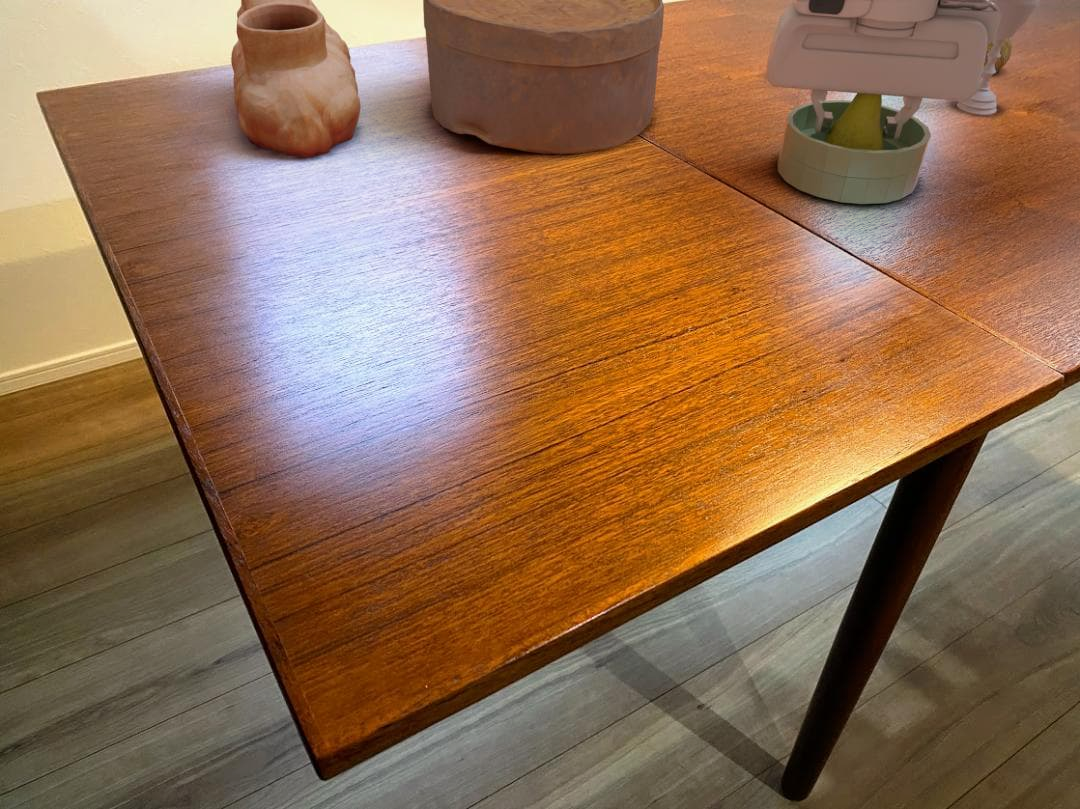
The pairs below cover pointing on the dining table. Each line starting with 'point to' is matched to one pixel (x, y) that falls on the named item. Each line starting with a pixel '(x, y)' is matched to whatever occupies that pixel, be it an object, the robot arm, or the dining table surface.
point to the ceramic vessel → (292, 79)
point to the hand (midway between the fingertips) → (855, 134)
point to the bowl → (850, 159)
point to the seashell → (1004, 52)
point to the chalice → (998, 52)
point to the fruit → (859, 124)
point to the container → (544, 70)
